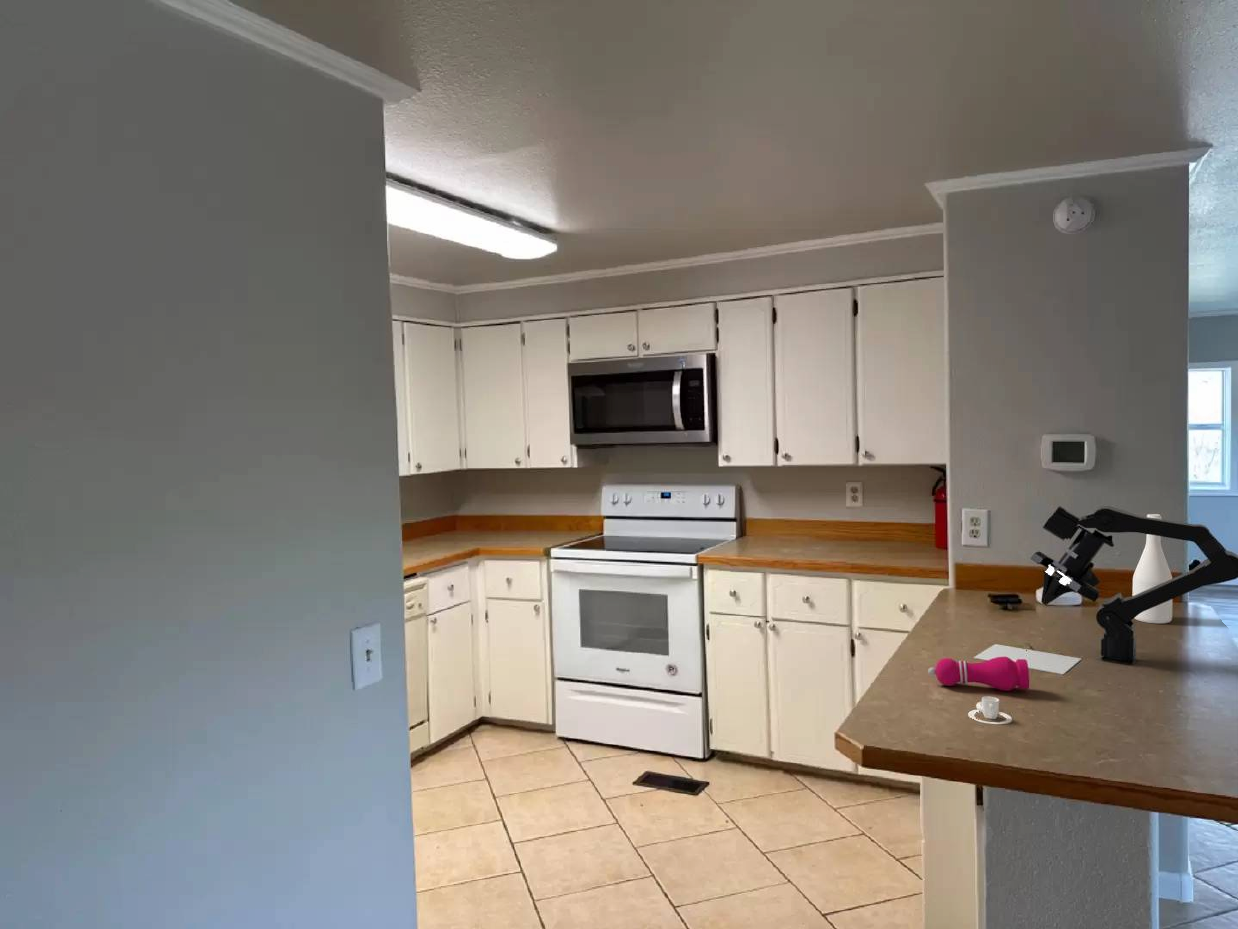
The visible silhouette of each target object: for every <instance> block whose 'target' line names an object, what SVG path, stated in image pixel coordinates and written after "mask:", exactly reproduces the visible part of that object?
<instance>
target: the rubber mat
mask: <svg viewBox="0 0 1238 929" xmlns="http://www.w3.org/2000/svg"><path fill="white" fill-rule="evenodd" d="M1026 650H1027V651H1026ZM996 657H1008V658H1010V659H1011V660H1012V661H1014V662H1016V661H1017V659H1026V660H1027V664H1028V670H1029V669H1031V670H1035V671H1042V672H1047V673H1052V674H1058V675H1065V674H1066V673H1067V672H1069V671H1070V670H1071V669H1072V668H1073V667H1074V666H1075V665H1076V664H1078V663H1079V662H1080V661H1082V658H1080V657H1074V656H1068V655H1061V654H1057V653H1051V652H1044V651H1039V650H1034V649H1026V648H1020V647H1014V646H1010V645H1009V646H1008V645H1002V644H997V643H995V644H993V645H991V646H990V647H988V648H986V649H985V650H983V651H982V652H980V653H979V654H977V655H976V656H975V655H974V657H973V659H975V660H982V661H987V660H990V659H993V658H996Z"/></svg>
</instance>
